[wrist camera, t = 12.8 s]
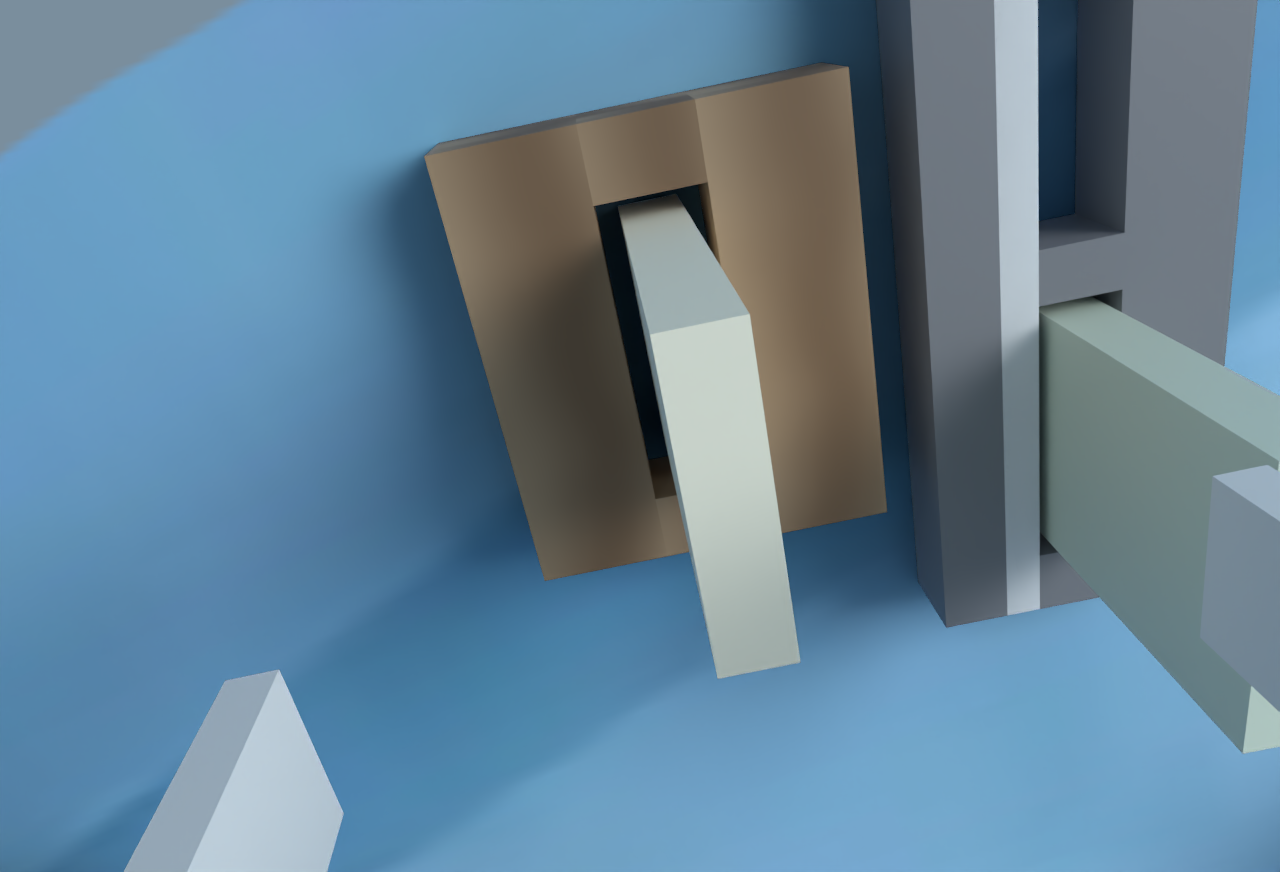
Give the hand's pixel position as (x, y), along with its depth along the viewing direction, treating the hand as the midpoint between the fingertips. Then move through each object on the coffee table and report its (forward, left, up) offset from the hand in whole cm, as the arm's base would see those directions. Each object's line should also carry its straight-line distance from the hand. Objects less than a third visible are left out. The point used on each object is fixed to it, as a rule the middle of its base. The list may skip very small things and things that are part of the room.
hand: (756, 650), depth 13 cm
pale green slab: (0, 0, -14) cm, 14 cm away
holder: (0, 0, -14) cm, 14 cm away
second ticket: (+11, -4, -14) cm, 18 cm away
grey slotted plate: (+11, 0, -14) cm, 18 cm away
